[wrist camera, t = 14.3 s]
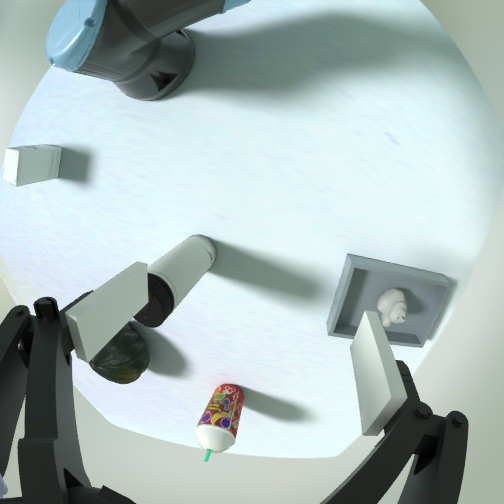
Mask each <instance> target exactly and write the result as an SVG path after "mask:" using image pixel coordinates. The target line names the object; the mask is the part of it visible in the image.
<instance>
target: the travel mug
mask: <svg viewBox="0 0 504 504" xmlns="http://www.w3.org/2000/svg"><path fill="white" fill-rule="evenodd" d="M215 259H216V250H215V247H214V245H213V243H212V242H211V241H210V240H209V239H208V238H206V237H204V236H202V235H193V236H190V237H189V238H187V239H186V240H184V241H183V242H182V243H180V244H179V245H177V246H176V247H175V248H173V249H172V250H170V251H169V252H168V253H166V254H165V255H164V256H162V257H161V258H159V259H158V260H157V261H155V262H154V263H153V264H151V265H150V266H149V267H147V278H148V303H147V304H146V305H145V306H144V307H143V308H142V309H141V310H140V311H139V312H138V313H137V314H136V315H135V316H134V317H133V318H134V319H135V320H137V321H138V322H140V323H141V324H144V326H147V327H149V328H155V327H158V326H160V325H161V324H162V323H163V322H164V321H165V320H166V318H167V317H168V316H169V315H170V314H171V313H172V312H173V310H174V309H175V308H176V307H177V306H178V305H179V303H180V302H181V301H182V300H183V299H184V298H185V296H186V295H187V294H188V293H189V292H190V290H191V289H192V288H193V287H194V286H195V284H196V283H197V282H198V281H199V280H200V279H201V277H202V276H203V275H204V274H205V273H206V272H207V270H208V269H209V268H210V267H211V266H212V264H213V263H214V262H215Z"/></svg>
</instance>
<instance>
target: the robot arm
mask: <svg viewBox="0 0 504 504" xmlns="http://www.w3.org/2000/svg"><path fill="white" fill-rule="evenodd" d="M249 1H251V0H67V1H66V2H65V3H64V4H63V6H62V7H61V9H60V10H59V11H58V13H57V15H56V17H55V18H54V20H53V23H52V25H51V27H50V29H49V32H48V36H47V40H46V56H47V59H48V61H49V62H50V63H51V64H52V65H53V66H55V67H59V68H62V69H65V70H66V71H68V72H74V73H79V74H84V75H88V76H93V77H97V78H101V79H105V80H109V81H112V82H113V83H114V84H115V85H116V86H117V87H118V88H119V89H120V90H121V91H122V92H123V93H124V94H125V95H127V96H129V97H131V98H134V99H138V100H142V101H150V100H156V99H159V98H161V97H164V96H166V95H167V94H169V93H171V92H172V91H173V90H175V89H176V88H177V87H178V86H179V85H180V84H181V83H182V82H183V81H184V79H185V78H186V77H187V75H188V73H189V72H190V70H191V67H192V65H193V62H194V56H195V49H194V44H193V42H192V40H191V38H190V37H189V36H188V35H187V34H186V33H185V32H184V31H183V30H181V29H183V28H185V27H187V26H189V25H192V24H194V23H196V22H199V21H201V20H203V19H206V18H209V17H211V16H214V15H216V14H219V13H220V14H223V13H225V12H226V11H227V10H230V9H233V8H235V7H238V6H241V5H244V4H246V3H248V2H249ZM147 303H148V278H147V264H146V263H142V262H138V261H137V262H135V263H134V264H132V265H131V266H129V267H128V268H126V269H125V270H123V271H122V272H121V273H119V274H118V275H116V276H115V277H113V278H112V279H110V280H109V281H108V282H106V283H105V284H103V285H102V286H100V287H99V288H98V289H96V290H95V291H93V290H92V291H89V292H87V293H84V294H83V295H81V296H80V297H79V298H78V299H76V300H74V302H72V303H70V304H69V305H67V306H66V307H65V308H63V309H62V310H61V311H59V310H58V306H57V301H56V300H55V299H54V298H52V297H42V298H40V299H38V300H37V301H35V303H34V304H33V305H34V309H35V313H36V316H33V315H30V311H29V308H28V307H27V306H24V305H18V306H15V307H14V308H12V309H11V310H10V312H9V313H8V314H7V316H6V317H5V319H4V320H3V322H2V323H1V325H0V504H136V503H134V502H133V501H132V500H130V499H129V498H127V497H125V496H123V495H121V494H119V493H117V492H115V491H113V490H111V489H109V488H107V487H106V486H104V485H103V487H102V488H101V489H100V488H95V487H92V486H91V483H90V481H89V479H88V477H87V475H86V473H85V470H84V467H83V463H82V457H81V452H80V446H79V440H78V434H77V428H76V419H75V410H74V398H73V382H72V356H71V353H70V352H71V351H72V350H73V349H75V352H76V355H77V357H78V358H80V359H81V360H83V361H85V362H87V363H88V362H89V361H90V360H91V359H92V358H93V357H94V356H95V355H96V354H97V353H98V352H99V351H100V350H101V349H102V348H103V347H104V346H105V345H106V344H107V343H108V342H109V341H110V340H111V339H112V338H113V337H114V336H115V335H116V334H117V333H118V332H119V331H120V330H121V329H122V328H123V327H124V326H125V325H126V324H127V323H128V322H129V321H130V320H131V319H132V318H133V317H134V316H135V315H136V314H137V313H138V312H139V311H140V310H141V309H142V308H143V307H144V306H145V305H146V304H147ZM18 344H20V346H19V348H18ZM350 350H351V356H352V362H353V368H354V374H355V380H356V387H357V394H358V401H359V408H360V416H361V425H362V434H363V435H364V436H365V435H366V436H368V435H369V436H378V435H379V433H380V432H381V431H382V430H383V429H384V433H385V436H384V437H383V438H382V439H381V440H380V441H379V442H378V444H377V445H376V446H375V448H374V449H373V450H372V451H371V453H370V454H369V455H368V456H367V457H366V458H365V459H364V461H363V462H362V463H361V464H360V465H359V466H358V467H357V468H356V469H355V470H354V471H353V472H352V474H351V475H350V476H349V477H348V478H347V479H346V480H345V481H344V482H343V483H342V484H341V485H340V486H339V487H338V488H336V490H334V492H332V493H331V494H330V495H329V496H328V497H327V498H326V499H325V500H323V501H322V502H321V503H320V504H377V503H378V502H379V501H380V499H381V498H382V497H383V496H384V494H385V493H386V492H387V491H388V489H389V488H390V487H391V485H392V484H393V482H394V481H395V480H396V478H397V477H398V476H399V474H400V472H401V471H402V470H403V468H404V467H405V465H406V464H407V462H408V460H409V459H410V457H411V456H412V454H415V456H414V460H413V463H412V466H411V469H410V472H409V475H408V478H407V480H406V483H405V486H404V489H403V491H402V494H401V496H400V499H399V501H398V504H457V502H458V498H459V493H460V489H461V484H462V479H463V473H464V466H465V458H466V451H467V440H468V420H467V418H466V416H465V415H463V413H461V412H459V411H451V412H450V413H449V414H448V415H447V416H446V417H441V416H438V415H434V414H433V412H432V410H431V408H430V407H429V406H428V405H427V404H425V403H423V402H421V401H420V399H419V396H418V393H417V390H416V387H415V384H414V382H413V379H412V376H411V373H410V371H409V368H408V367H407V365H406V364H405V363H404V362H403V361H401V360H395V358H394V355H393V352H392V350H391V347H390V344H389V342H388V339H387V336H386V334H385V331H384V329H383V326H382V324H381V321H380V319H379V316H378V314H377V312H373V311H367V310H365V312H364V314H363V317H362V320H361V322H360V325H359V327H358V330H357V332H356V335H355V337H354V339H353V342H352V344H351V346H350ZM25 395H26V401H25V436H24V438H22V439H19V441H18V464H19V475H20V484H21V491H22V497H15V498H3V495H5V494H7V492H8V488H7V486H6V485H5V484H4V481H3V476H4V474H5V471H6V468H7V465H8V460H9V456H10V451H11V446H12V441H13V437H14V433H15V429H16V425H17V421H18V418H19V414H20V411H21V408H22V404H23V401H24V398H25Z"/></svg>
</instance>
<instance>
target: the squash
mask: <svg viewBox="0 0 504 504" xmlns="http://www.w3.org/2000/svg"><path fill="white" fill-rule="evenodd" d="M138 338H139V336H138V334H137V333H136V332H135V331H132V328H131V326H130V325H129V324H128V323H127V324H126V325H125V326H124V327H123V328H122V329H121V330H120V331H119V332H118V333H117V334H116V335H115V336H114V337H113V338H112V339H111V340H110V341H109V342H108V343H107V344H106V345H105V346H104V347H103V348H102V349H101V350H100V351H99V352H98V353H97V354H96V355H95V356H94V357H93V358H92V359H91V360H90V361H89V365H90V366H91V368H92V369H93V370H94V371H95V372H96V373H98V374H99V375H100V376H102V377H104V378H105V379H107V380H109V381H112V382H115V383H119V384H129V383H131V382H134V381H136V380H137V379H138V378H139V377H140V375H141V373H143V372H144V371H145V370H146V368H147V367H148V364H149V354H148V351H147V350H146V349H145V347H146V345H145V342H144V341H143V340H141V339H138Z"/></svg>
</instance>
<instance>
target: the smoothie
mask: <svg viewBox="0 0 504 504" xmlns="http://www.w3.org/2000/svg"><path fill="white" fill-rule="evenodd" d="M243 400H244V396H243V394H242V391H241V390H240V389H239V388H238V387H237V386H235V385H232V384H223V385H221V386H220V387H218V388H217V389H216V390H215V392H214V394H213V396H212V398H211V400H210V402H209V403H208V405H207V407H206V409H205V411H204V413H203V415H202V417H201V419H200V421H199V423H198V425H197V427H196V428H195V430H194V431H195V434H196V439H197V442H198V444H199V445H200V446H201V447H202V448H203V449H204V450H206V451H207V454H206V457H205V460H204V461H206V462H207V461H208V459H209V456H210V453H211V452H213V453H219V452H223V451H225V450H227V449H228V448H229V447H230V446H232V445H233V444H234V443H235V439H236V434H237V429H238V424H239V420H240V415H241V410H242V405H243Z"/></svg>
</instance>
